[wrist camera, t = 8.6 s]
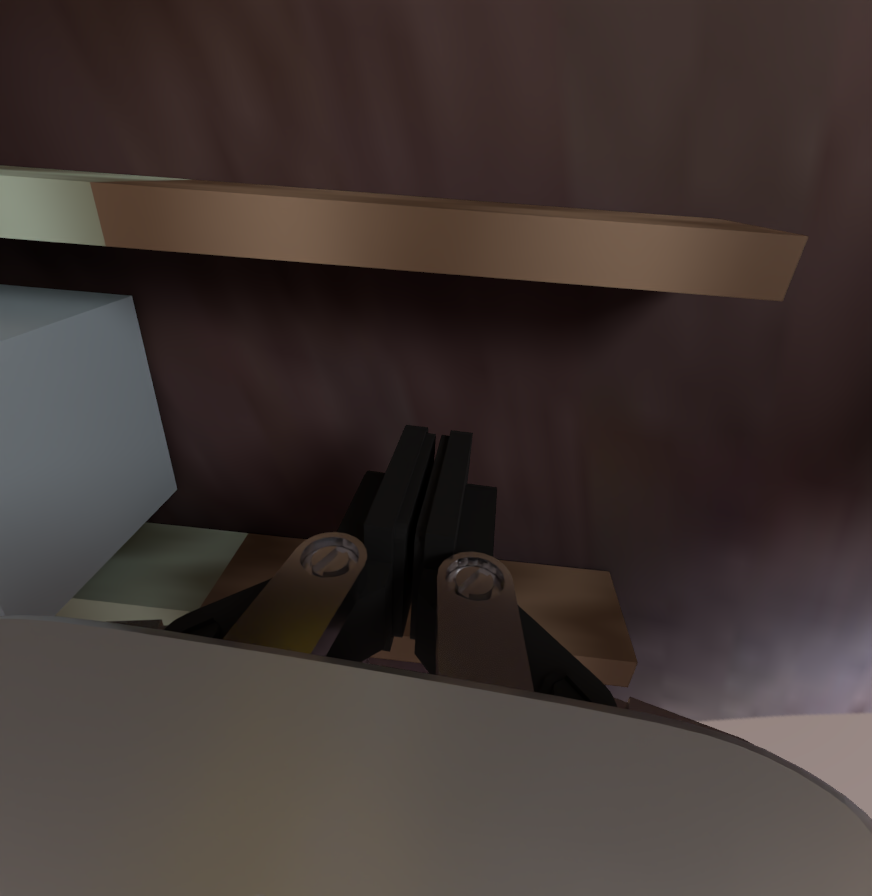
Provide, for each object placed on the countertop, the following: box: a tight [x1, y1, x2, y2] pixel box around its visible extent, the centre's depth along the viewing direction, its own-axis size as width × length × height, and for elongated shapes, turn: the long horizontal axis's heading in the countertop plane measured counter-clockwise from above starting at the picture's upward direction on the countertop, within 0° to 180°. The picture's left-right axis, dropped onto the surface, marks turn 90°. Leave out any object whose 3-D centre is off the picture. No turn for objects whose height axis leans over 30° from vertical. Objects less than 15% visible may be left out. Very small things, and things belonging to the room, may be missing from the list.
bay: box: [0, 165, 808, 687], centre depth 11 cm, size 27×20×10 cm
